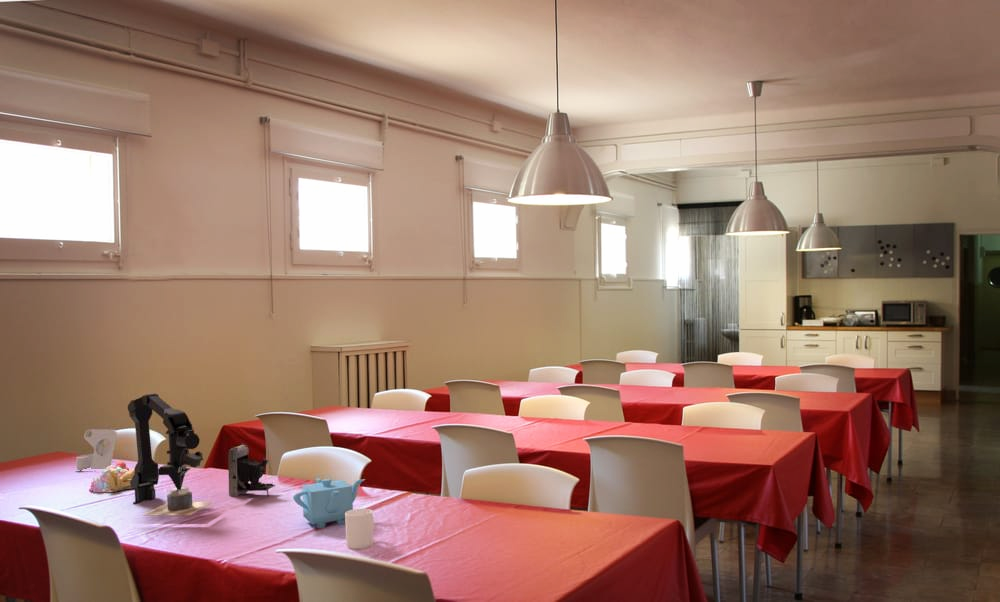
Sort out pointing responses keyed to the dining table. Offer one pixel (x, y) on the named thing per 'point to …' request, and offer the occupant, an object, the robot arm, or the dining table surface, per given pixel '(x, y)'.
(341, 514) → the teakettle
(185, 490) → the beige mottled stone
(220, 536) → the dining table surface
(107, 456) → the phone holder
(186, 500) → the ring
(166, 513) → the mount board
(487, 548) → the dining table surface
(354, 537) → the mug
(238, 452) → the vintage camera
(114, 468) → the candy landscape model
